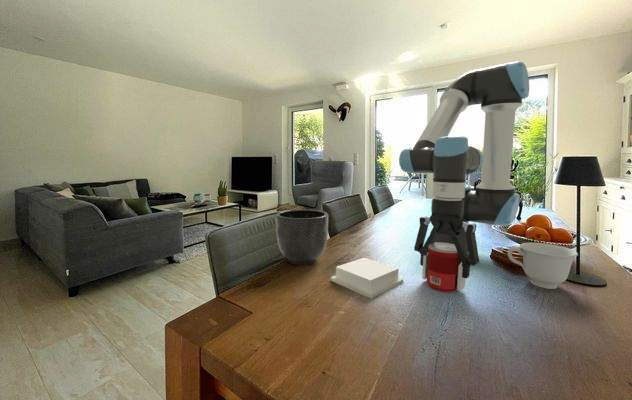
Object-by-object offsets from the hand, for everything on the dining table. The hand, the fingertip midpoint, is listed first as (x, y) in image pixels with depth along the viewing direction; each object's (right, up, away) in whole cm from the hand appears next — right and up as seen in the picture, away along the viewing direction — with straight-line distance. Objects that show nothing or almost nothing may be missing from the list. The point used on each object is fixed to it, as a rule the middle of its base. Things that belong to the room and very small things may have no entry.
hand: (442, 282), depth 76 cm
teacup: (+26, -1, +2) cm, 26 cm away
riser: (-20, -1, +3) cm, 20 cm away
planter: (-38, +1, +20) cm, 43 cm away
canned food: (0, -1, 0) cm, 1 cm away
